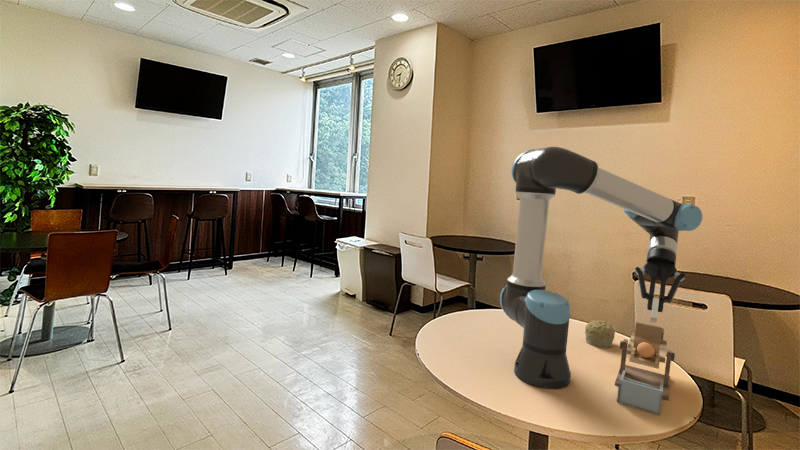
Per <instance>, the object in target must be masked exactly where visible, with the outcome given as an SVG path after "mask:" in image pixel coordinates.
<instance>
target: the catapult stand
mask: <svg viewBox="0 0 800 450" xmlns="http://www.w3.org/2000/svg"><path fill="white" fill-rule="evenodd" d="M628 344H629V339H626V338H624V339H623V340H620V342H619V350H620V349H621V357H620V358H621V359H620V365H619V369H618V372H617V376H616V378H615V381H614V386H616V387H619V379H620V378H621V375H622V372H623V370H624V371H626V372H625V378H627V379H630V380H634V381H638V382H641V383H645V384H649V385H652V386H656V387H659V388H660V382H661V380H662V381H663V394H662V400H664V401H669V400H670V386H671V385H670V384H671V383H670V382H671V376H670V371H671V362H675V356H676V353H675V352H673V349H672V348H667V349H666V357H665V366H664V374H662V373H660V372H659V373H658V372H656V371H651V370H648V369H643V368H640V367H637V366H636V367H635V366H631V365H627V364H626V362H627V361H626V360H627V354H626V351H627V347H628Z"/></svg>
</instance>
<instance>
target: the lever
mask: <svg viewBox="0 0 800 450" xmlns="http://www.w3.org/2000/svg"><path fill="white" fill-rule="evenodd" d="M664 334H665V328H663V326H659V325H654V324H650V323H644V322H639V321H636V322H635V331H634V332H632V333H631V336H630V338H629V340H628V345H627V351H626V355H630V356H629V363H634V364H638V365H641V366H644V367H645V366H646V367H650V368H653V369H657V370H658V369H660V363H662V364H666V358H667V343H668V340H667V339H664V336H665V335H664ZM642 342H647V343H649V344H651V345H652V346H653V347H654V350H655V352H654V355H653V356H652V357H650V358H644V357H642V356H640V355H639V354H638V352H637V346H638V345H639V344H640V343H642Z"/></svg>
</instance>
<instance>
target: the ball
mask: <svg viewBox="0 0 800 450" xmlns="http://www.w3.org/2000/svg"><path fill="white" fill-rule="evenodd" d="M637 352H638V354H639V355H640V356H642V357H644V358H650V357H652V356H653V355H654V352H655V350H654V347H653V346H652V345H651V344H649V343H647V342H642V343H640V344H639V345H638V346H637Z"/></svg>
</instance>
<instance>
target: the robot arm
mask: <svg viewBox="0 0 800 450" xmlns="http://www.w3.org/2000/svg"><path fill="white" fill-rule="evenodd" d="M511 178H512V180H513V181H514V182H515V194H516V195H517V196H518V198H519V206H518V215H517V223H516V224H517V226H516V227H517V228H516V234H515V235H516V236H515V237H516V238H515V248H514V257H513V266H512V267H513V268H512V274H511V275H510V276H509V277H507V280H506V285H505V286H504V287H503V288H502V289H501V291H500V294H499V304H500V307H501V309H502V310H503V313H505V315H506V316H507V317H508V318H509V319H510V320H512V321H514V322H515V323H517V324H518V325H519V326H520V327H521V328H523V334H522V335H523V336H522V346H521V348H520V350H519V353H518V355H517V357H516V359H515V362H514V367H513V372H514V374H515V376H516V377H517V378H518V379H519V380H521V381H523V382H524V383H527V384H529V385H532V386H535V387H538V388H543V389H551V390H552V389H564V388H566V387H569V385H570V384H571V381H572V380H571V378H572V372H571V370H570V364H569V360H568V356H567V347H568V337H569V336H568V335H569V327H570V318H571V305H570V302H569V300H568V299H567V298H566V297H565V296H563V295H561V294H559V293H557V292H553V291H550V290H547V289H546V286H547V283H546V282H545V280H544V279H543V278H542V275H543V265H544V257H545V248H546V247H545V246H546V234H547V227H548V225H547V224H548V217H549V206H550V201H551V199H552V198H554V197H555V196H556V190H557V189H558V190H565V191H570V192H573V193H575V194H578V195H580V194H582V195H583V194H587V195H590V196H592V197H594V198H597V199H598V200H599V199H600V200H602V201H604V202H606V203H609V204H612V205H613V206H617V207H618V208H622V209H623V212H624V213H625V214H626V216H628V218H629V219H630V220H632V221H633V222H635V224H637V225H638V226H639V227H641V228H642V229H643V230H644V231H645V232H646V233H647V234H648V235H649V242H648V248H647V253H646V254H647V255H646V261H645V262H646V263H645V264H644V265H643V266H642V267H638V266H636V267H635V271H634V273H635V275H636V277H637V278H638V284H639V290H640V295H641V298H642V299H646V300H647V307H646V310H648V311H651V313H650V320H649V322H650V323H654V324H657V321H658V313H662V312H664V304H665V303H667V304H671V303H672V301H673V299H674V296H675V294H677V293H676V292H677V291H678V289H679V286H680V284H681V283H683V282H684V281H685V278H686V274H685V273H683V272H682V273H680V272H678V269H677V268H676V264H677V263H676V262H677V253H678V252H677V251H678V239H679V232H682V231H686V232H691V231H695V230H696V229H697V228H699V227H700V225H701V223H702V221H703V212H702V210H701V208H700V207H698V206H697V205H695V204H689V203H682V202H679V201H676V200H675V199H674V200H673V199H672V198H669V197H667V196H664V195H662V194H660V193H657V192H656V191H652V190H650V189H648V188H646V187H643V186H642V185H639V184H637V183H634V182H633V181H631V180H628V179H625V178H623V177H621V176H619V175H616V174H614V173H613V172H610V171H608V170H605V169H603V168H601V167H599V163H597V162H596V161H595V160H592V159H590V158H588V157H585V156H583V155H581V154H579V153H578V152H577V153H576V152H574V151H573V150H569V149H567V148H564V147H560V146H548V147H543V148H532V149H528V150H527V151H524V152H522V153H520V154H519V155H518V156H517V157H516V159H515V160H514V162H513V164H512V166H511ZM645 274H646V275H647V276H648V277H649V278H650V284H649V291H648V292H647V287H646V283H645V276H644V275H645ZM673 277H674V281H673V283H672V285H671V287H670V289H669V291H668V293H667V295H665V293H666V285H667V284H666V283H667V281H669V280H670V279H671V278H673ZM657 281H660V288H659V297H658V298H657V297H655V289H656V282H657Z"/></svg>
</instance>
